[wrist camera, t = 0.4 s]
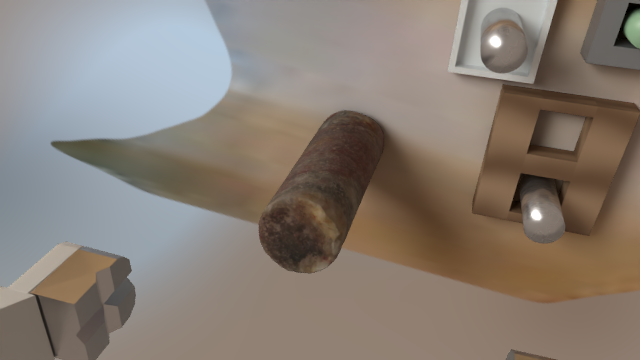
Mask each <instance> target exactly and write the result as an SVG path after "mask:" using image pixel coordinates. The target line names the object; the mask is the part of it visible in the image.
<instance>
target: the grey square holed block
mask: <svg viewBox="0 0 640 360" xmlns="http://www.w3.org/2000/svg"><path fill="white" fill-rule="evenodd" d="M629 3H636V4H640V0H597V3H596V6H595V10H594V13H593V16H592V19H591V22H590V25H589V28H588V31H587V34H586V37H585V40H584V43H583V46H582V49H581V52H580V53H581V55H582V57H583V59H584V61H585V62H586V63H592V64H599V65H607V66H614V67H622V68H629V69H637V70H640V49H639V48H637V47H635V46H634V45H633V44H632V43H631V42H630V41H629V40H626V39H618V38H617V35H618V32H619V29H620V27H621V24H622V21H623V18H624V15H625V13H626V10H627V7H628V4H629Z"/></svg>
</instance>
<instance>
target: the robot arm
mask: <svg viewBox="0 0 640 360" xmlns="http://www.w3.org/2000/svg"><path fill="white" fill-rule="evenodd" d="M131 271H132V270H131V265H130V261H129V259H127V258H125V257H122V256H119V255H115V254H112V253H108V252H104V251H100V250H97V249H93V248H89V247H84V246H80V245H77V244H73V243H69V242H64V243H60V244H58V245H57V246H56V247H55V248H53V249H52V250H51V251H50V252H49V253H48V254H46V255H45V256H44V257H43V258H42V259H41V260H39V261H38V262H37V263H36V264H35V265H34V266H33V267H31V268H30V269H29V270H28V271H27V272H25V273H24V274H23V275H22V276H21V277H20V278H18V279H17V280H16V281H15V282H14V283H13V284H11V286H9V287H8V288H6V287H0V360H54V359H55V358H59V359H63V360H96V359H97V358H98V356H99V355H100V354H101V353H102V351H103V350H104V349H105V348H106V346H107V345H108V344H109V333H111V332H113V331H115V330H117V329H119V328H121V327H122V326H123V325H124V323H125V322H126V321H127V320H128V318H129V317H130V315H131V312H132V310H133V307H134V305H135V296H136V294H135V287H134V285H133V284H132V283H131V282H130V280H129V279H128V278H127V276H128V275H129V274H130V273H131ZM54 357H55V358H54ZM506 360H556V359H551V358H547V357H543V356H538V355H534V354H529V353H525V352H521V351H516V350H512V349H511V351H510V352H509V353H508V355H507V358H506Z"/></svg>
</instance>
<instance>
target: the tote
mask: <svg viewBox="0 0 640 360" xmlns="http://www.w3.org/2000/svg"><path fill="white" fill-rule="evenodd" d="M556 4H557V0H461V5H460V10H459V15H458V20H457V25H456V30H455V35H454V41H453V46H452V51H451V56H450V61H449V66H448V72H453V73H460V74H467V75H474V76H481V77H488V78H495V79H502V80H509V81H516V82H523V83H530V84H533V83H534V80H535V76H536V73H537V69H538V66H539V63H540V59H541V56H542V52H543V49H544V45H545V42H546V38H547V35H548V32H549V28H550V25H551V21H552V18H553V14H554V11H555V7H556ZM502 7H503V8H509V9H512V10H514V11H515V12H516V13H517V14H518V15H519V17H520V19H521V23H522V26H523V30H524V34H525V37H526V41H527V45H528V54H527V57H526V59H525V61H524V63H523V64H522V65H521V66H520V67H519V68H517V69H516V70H514V71H512V72H509V73H495V72H492V71H490V70H489V69H488V68H486V67H485V65H484V64H483V62H482V60H481V55H480V38H481V23H482V21H483V19H484V17H485V16H486V15H487V14H488V13H489V12H490V11H492V10H494V9H497V8H502Z"/></svg>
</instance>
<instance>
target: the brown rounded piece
mask: <svg viewBox="0 0 640 360" xmlns="http://www.w3.org/2000/svg"><path fill="white" fill-rule="evenodd" d="M383 147H384V136H383V132H382V131H381V129H380V126H379V125H378V124H377V123H376V122H375V121H374V120H373V119H371V118H369V117H367V116H364V115H362V114H360V113H357V112H352V111H346V110H345V111H340V112H337V113H335V114H333V115H331V116H330V117H329V118H327V119H326V121H325V122H324V123H323V124H322V126H321V127H320V128H319V130H318V131H317V133H316V134H315V136H314V137H313V139H312V140H311V142H310V143H309V145H308V146H307V148H306V149H305V151H304V152H303V154H302V155H301V157H300V158H299V160H298V161H297V163H296V164H295V166H294V167H293V168H292V170H291V172H290V173H289V175H288V176H287V178H286V179H285V181H284V182H283V184H282V185H281V186H280V188H279V189H278V191H277V192H276V194H275V195H274V197H273V198H272V200H271V201H270V202H269V204H268V205H267V207H266V208H265V209H264V211H263V213H262V216H261V218H260V221H259V236H260V241H261V245H262V247H263V249H264V250H265V252H266V253H267V254H268V255H269V256H270V257H271V258H272V259H273V260H274V261H275V262H276V263H278V264H279V265H280V266H281V267H283V268H285V269H286V270H288V271H295V272H300V273H315V272H317V271H320V270H323V269H325V268H326V267H328V266H329V265H330V264H331V263H332V262H333V261H334V260H335V259H336V258H337V256H338V254H339V252H340V250H341V247H342V245H343V243H344V241H345V239H346V236H347V234H348V231H349V229H350V227H351V224H352V221H353V219H354V217H355V215H356V212H357V210H358V207H359V205H360V203H361V201H362V198H363V195H364V193H365V191H366V188H367V186H368V184H369V182H370V179H371V177H372V175H373V173H374V170H375V168H376V166H377V163H378V161H379V159H380V156H381V154H382V152H383Z"/></svg>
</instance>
